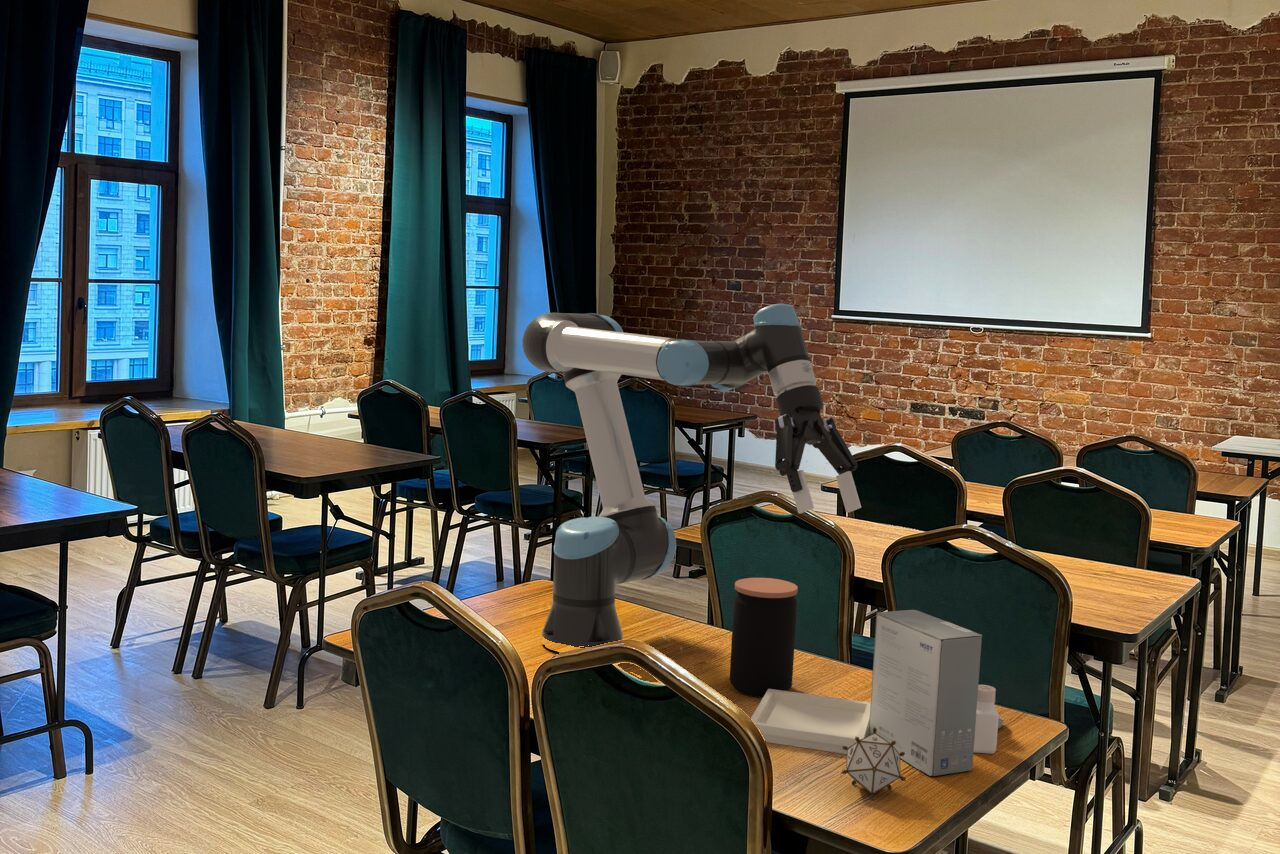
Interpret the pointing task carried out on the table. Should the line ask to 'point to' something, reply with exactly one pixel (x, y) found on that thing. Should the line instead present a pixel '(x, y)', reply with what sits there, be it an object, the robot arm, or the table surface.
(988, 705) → the pepper shaker
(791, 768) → the table surface
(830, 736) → the tray
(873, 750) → the game die
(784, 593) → the coffee jar
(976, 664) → the hard drive box
